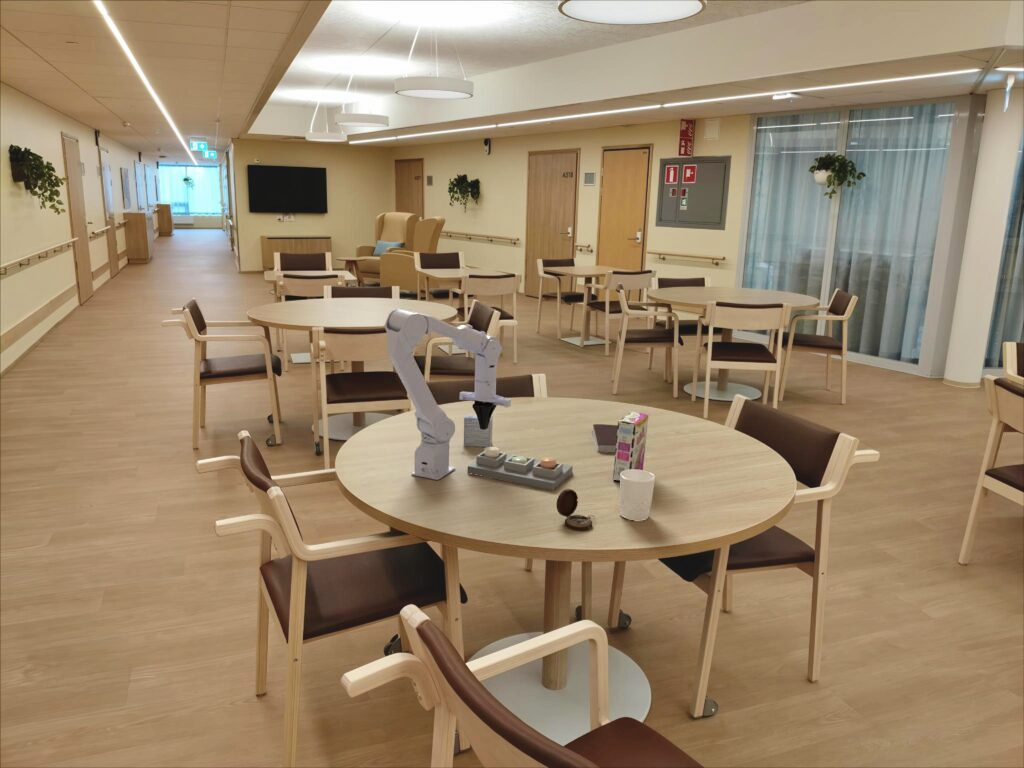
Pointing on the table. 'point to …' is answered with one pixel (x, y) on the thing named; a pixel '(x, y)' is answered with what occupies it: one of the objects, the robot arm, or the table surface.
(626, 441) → the candy bar box
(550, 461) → the terracotta button
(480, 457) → the button board
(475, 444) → the medicine box
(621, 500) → the white cup
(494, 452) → the off-white button
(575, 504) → the compass
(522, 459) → the sage green button
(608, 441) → the book
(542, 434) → the table surface
